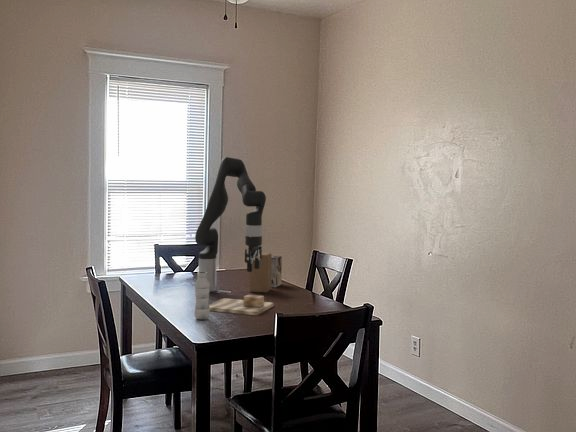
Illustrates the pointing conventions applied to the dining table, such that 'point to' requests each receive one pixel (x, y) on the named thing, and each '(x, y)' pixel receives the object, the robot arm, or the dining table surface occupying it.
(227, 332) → the dining table surface
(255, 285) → the wooden block
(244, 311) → the board
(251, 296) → the block
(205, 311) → the plastic bottle
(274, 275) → the coffee box
